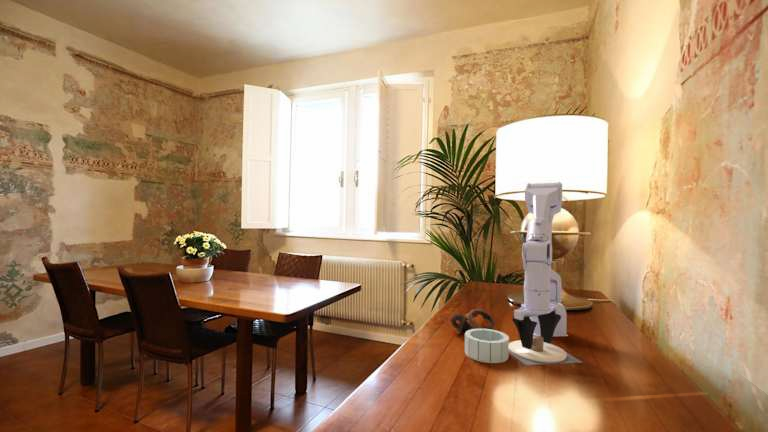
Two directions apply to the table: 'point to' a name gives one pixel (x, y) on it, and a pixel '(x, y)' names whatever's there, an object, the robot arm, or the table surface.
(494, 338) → the bowl
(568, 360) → the mat
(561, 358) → the lid
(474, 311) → the dark brown rounded loops
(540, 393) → the table surface
